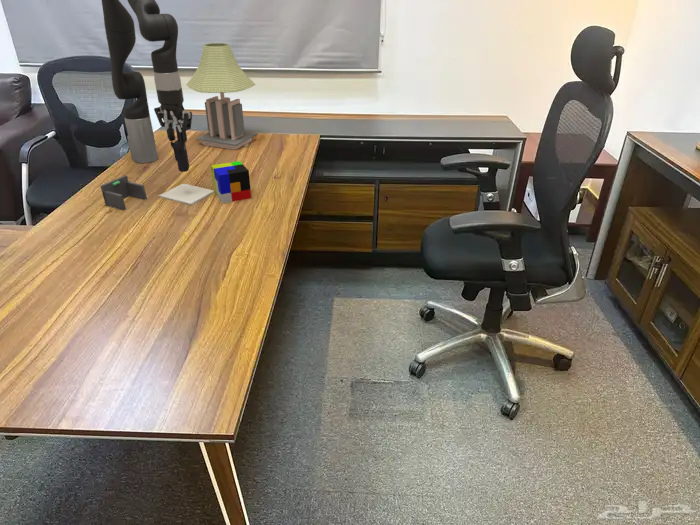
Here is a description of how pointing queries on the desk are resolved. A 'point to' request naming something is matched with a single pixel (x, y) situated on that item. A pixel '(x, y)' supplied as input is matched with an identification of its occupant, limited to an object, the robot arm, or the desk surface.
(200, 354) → the desk surface
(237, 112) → the desk lamp
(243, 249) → the desk surface
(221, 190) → the puzzle toy
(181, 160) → the two-way radio
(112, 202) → the dock
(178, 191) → the mat
